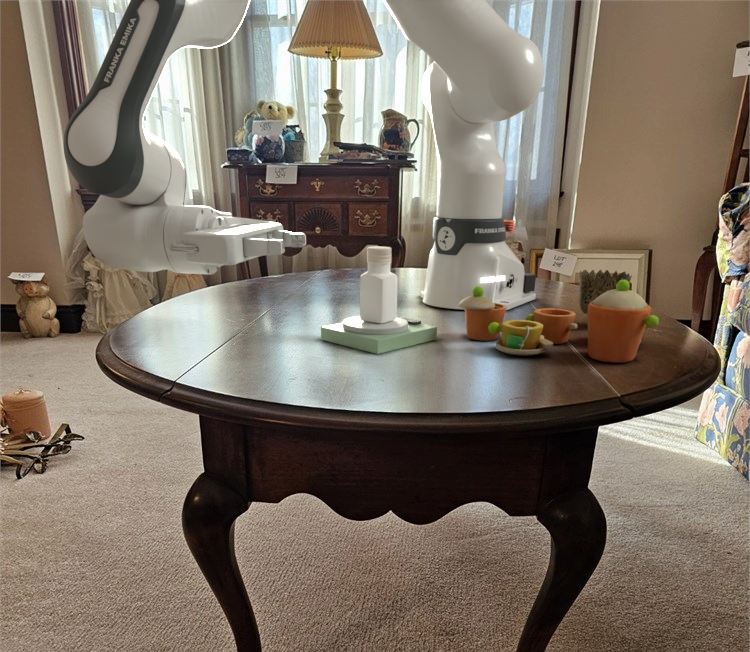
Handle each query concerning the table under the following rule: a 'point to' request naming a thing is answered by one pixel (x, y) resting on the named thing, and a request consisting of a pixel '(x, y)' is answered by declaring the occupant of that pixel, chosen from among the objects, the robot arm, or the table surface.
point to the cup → (597, 285)
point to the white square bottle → (378, 287)
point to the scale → (378, 334)
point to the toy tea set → (565, 325)
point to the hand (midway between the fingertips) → (294, 243)
